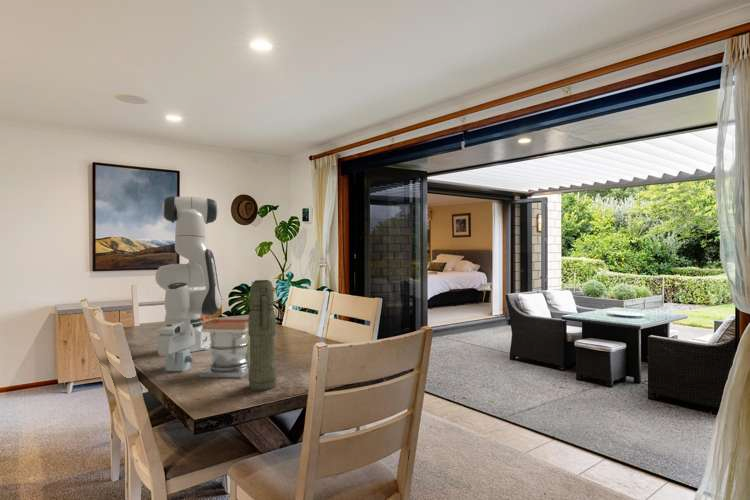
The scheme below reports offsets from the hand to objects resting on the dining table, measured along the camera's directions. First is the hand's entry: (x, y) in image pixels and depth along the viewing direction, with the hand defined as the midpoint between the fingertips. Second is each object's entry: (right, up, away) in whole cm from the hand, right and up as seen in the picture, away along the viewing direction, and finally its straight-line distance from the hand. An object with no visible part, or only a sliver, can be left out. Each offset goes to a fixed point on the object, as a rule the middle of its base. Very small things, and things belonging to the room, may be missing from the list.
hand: (178, 362), depth 169 cm
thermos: (+38, -3, -22) cm, 44 cm away
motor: (+21, -3, -3) cm, 21 cm away
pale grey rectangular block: (0, -3, 0) cm, 3 cm away
